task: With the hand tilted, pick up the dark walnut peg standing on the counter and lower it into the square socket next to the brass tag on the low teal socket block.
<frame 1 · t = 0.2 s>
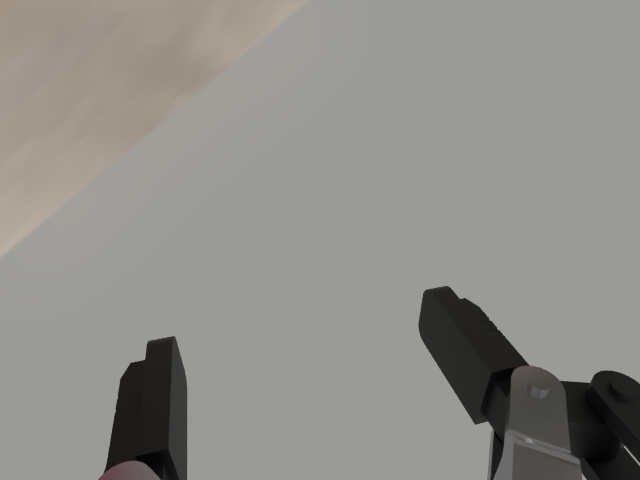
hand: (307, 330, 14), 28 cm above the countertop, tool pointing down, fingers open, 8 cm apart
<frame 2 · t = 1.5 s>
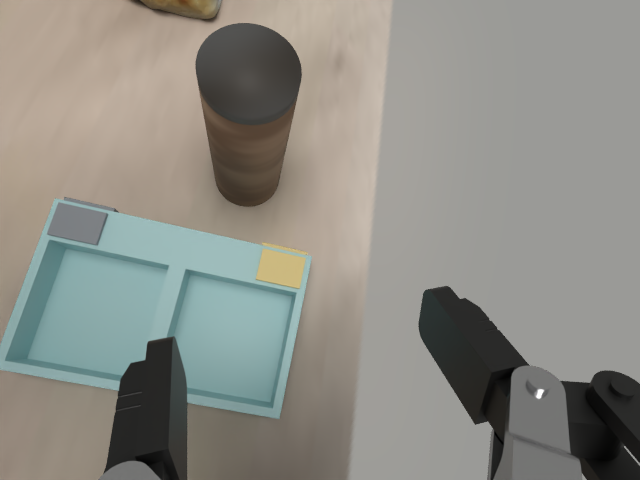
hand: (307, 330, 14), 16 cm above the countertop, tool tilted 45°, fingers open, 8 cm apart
socket block: (173, 310, 28), on the countertop
walnut peg: (247, 176, 31), on the countertop
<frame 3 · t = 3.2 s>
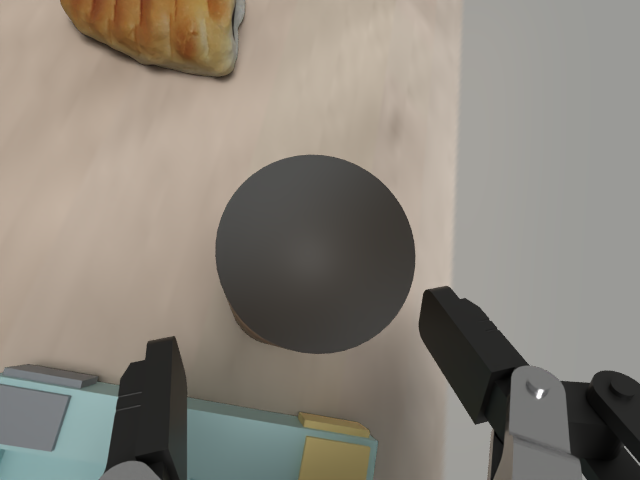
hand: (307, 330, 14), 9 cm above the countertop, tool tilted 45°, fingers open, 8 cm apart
pastry: (174, 33, 25), on the countertop
walnut peg: (276, 298, 22), on the countertop
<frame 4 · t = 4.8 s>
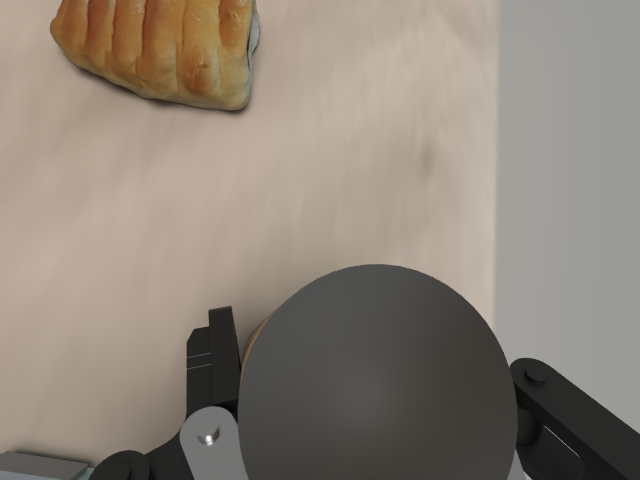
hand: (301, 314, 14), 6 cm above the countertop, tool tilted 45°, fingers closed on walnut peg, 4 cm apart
pastry: (180, 61, 22), on the countertop
walnut peg: (293, 362, 19), on the countertop, touching gripper
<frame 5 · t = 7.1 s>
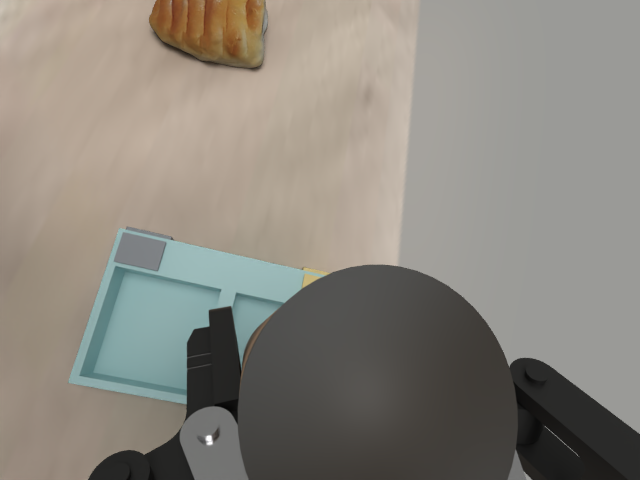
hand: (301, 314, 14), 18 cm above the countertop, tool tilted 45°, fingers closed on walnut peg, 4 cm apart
pastry: (220, 39, 36), on the countertop
socket block: (221, 328, 31), on the countertop
walnut peg: (293, 362, 19), point 12 cm above the countertop, touching gripper
when the fingers open (7 cm above the countertop, at t = 9.6 s): walnut peg stays where it is, resting on socket block.
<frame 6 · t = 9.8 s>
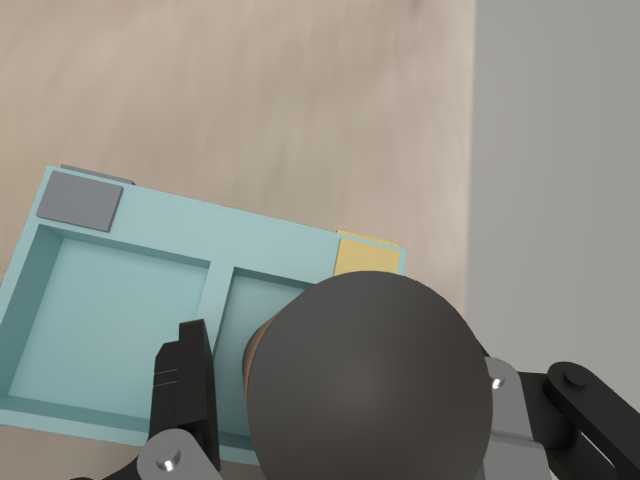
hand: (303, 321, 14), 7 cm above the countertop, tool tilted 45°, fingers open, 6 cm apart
socket block: (212, 324, 20), on the countertop
walnut peg: (291, 364, 20), point 1 cm above the countertop, touching socket block
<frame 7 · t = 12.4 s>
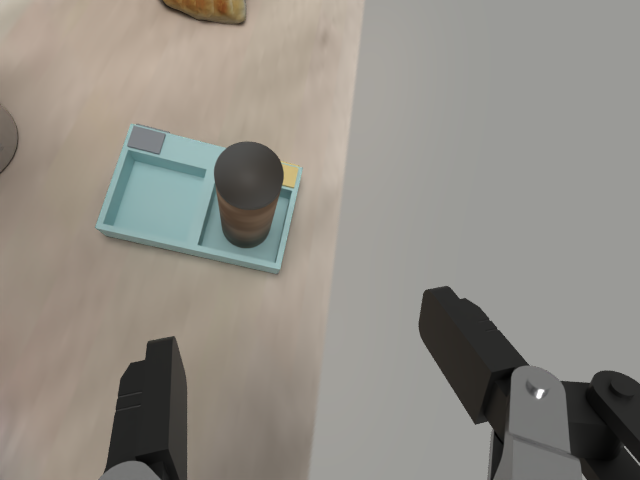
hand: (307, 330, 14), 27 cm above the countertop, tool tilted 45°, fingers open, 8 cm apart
pastry: (210, 2, 46), on the countertop
socket block: (207, 205, 41), on the countertop
walnut peg: (246, 224, 41), point 1 cm above the countertop, touching socket block
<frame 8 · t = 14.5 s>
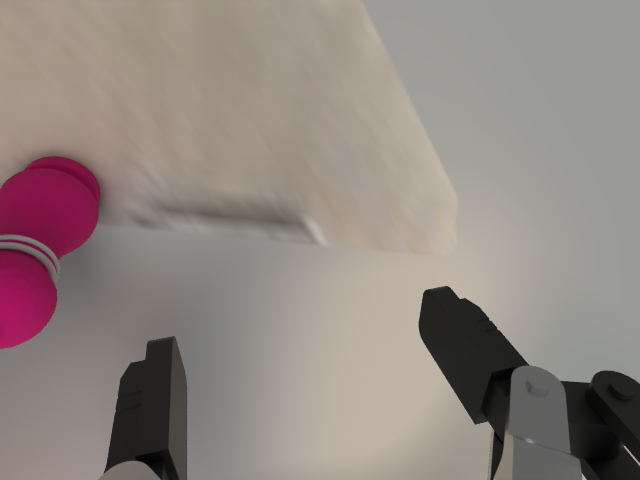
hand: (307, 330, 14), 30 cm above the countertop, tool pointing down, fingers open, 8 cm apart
pepper mill: (62, 187, 39), on the countertop
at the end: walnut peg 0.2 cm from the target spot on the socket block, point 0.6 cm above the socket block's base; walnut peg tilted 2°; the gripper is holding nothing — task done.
